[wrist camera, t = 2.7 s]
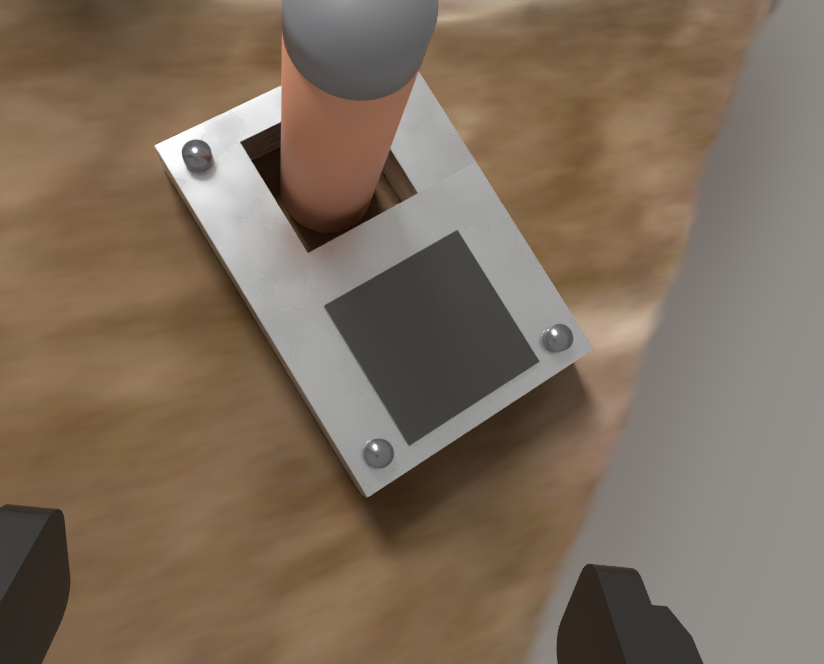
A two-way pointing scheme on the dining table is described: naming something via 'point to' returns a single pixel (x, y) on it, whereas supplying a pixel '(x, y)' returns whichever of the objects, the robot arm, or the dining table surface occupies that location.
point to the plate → (383, 288)
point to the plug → (344, 100)
